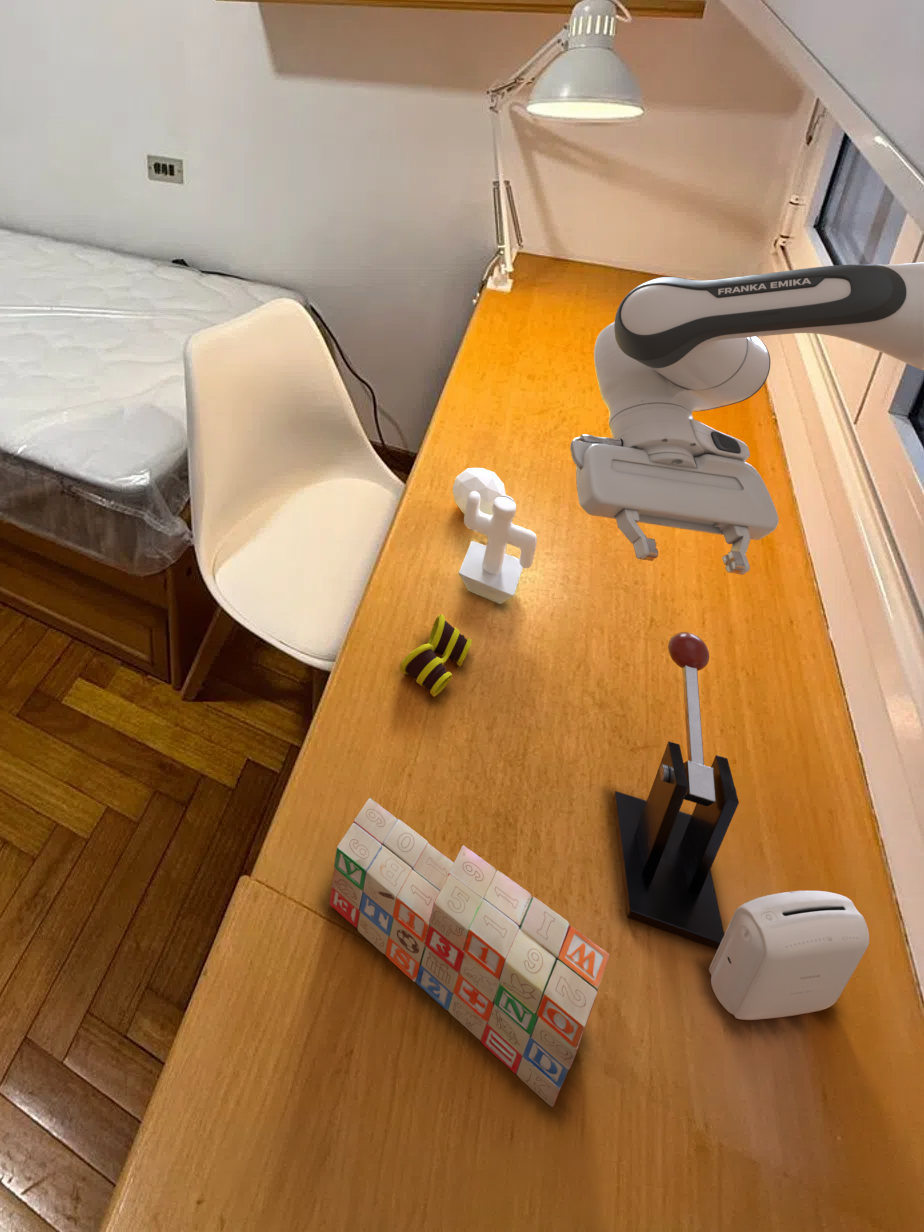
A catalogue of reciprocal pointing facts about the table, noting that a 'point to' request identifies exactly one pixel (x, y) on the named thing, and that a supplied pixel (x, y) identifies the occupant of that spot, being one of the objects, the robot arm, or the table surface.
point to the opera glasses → (427, 664)
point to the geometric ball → (478, 488)
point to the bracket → (674, 851)
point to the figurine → (495, 550)
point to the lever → (693, 715)
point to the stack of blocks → (472, 944)
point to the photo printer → (788, 954)
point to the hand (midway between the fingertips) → (693, 565)
